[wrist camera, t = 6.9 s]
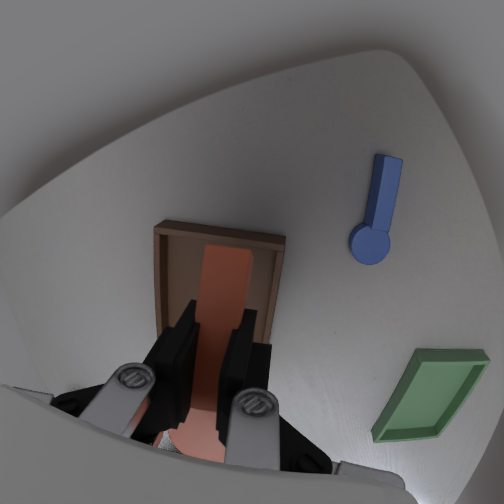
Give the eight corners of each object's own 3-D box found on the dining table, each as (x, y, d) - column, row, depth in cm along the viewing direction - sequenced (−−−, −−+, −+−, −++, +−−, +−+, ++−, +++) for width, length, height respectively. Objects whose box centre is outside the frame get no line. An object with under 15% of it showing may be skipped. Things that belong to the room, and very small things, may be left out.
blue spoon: (364, 151, 23) (372, 152, 21) (402, 160, 23) (414, 162, 20) (345, 257, 26) (350, 268, 24) (381, 262, 26) (389, 274, 24)
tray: (163, 219, 27) (153, 226, 25) (285, 236, 26) (285, 245, 24) (166, 349, 32) (159, 361, 30) (263, 367, 32) (261, 382, 29)
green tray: (415, 348, 29) (422, 361, 27) (483, 349, 28) (490, 360, 26) (371, 430, 34) (373, 442, 32) (434, 426, 33) (438, 437, 31)
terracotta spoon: (194, 247, 13) (177, 239, 10) (278, 259, 13) (281, 253, 10) (172, 443, 12) (155, 470, 9) (246, 457, 12) (242, 488, 9)
